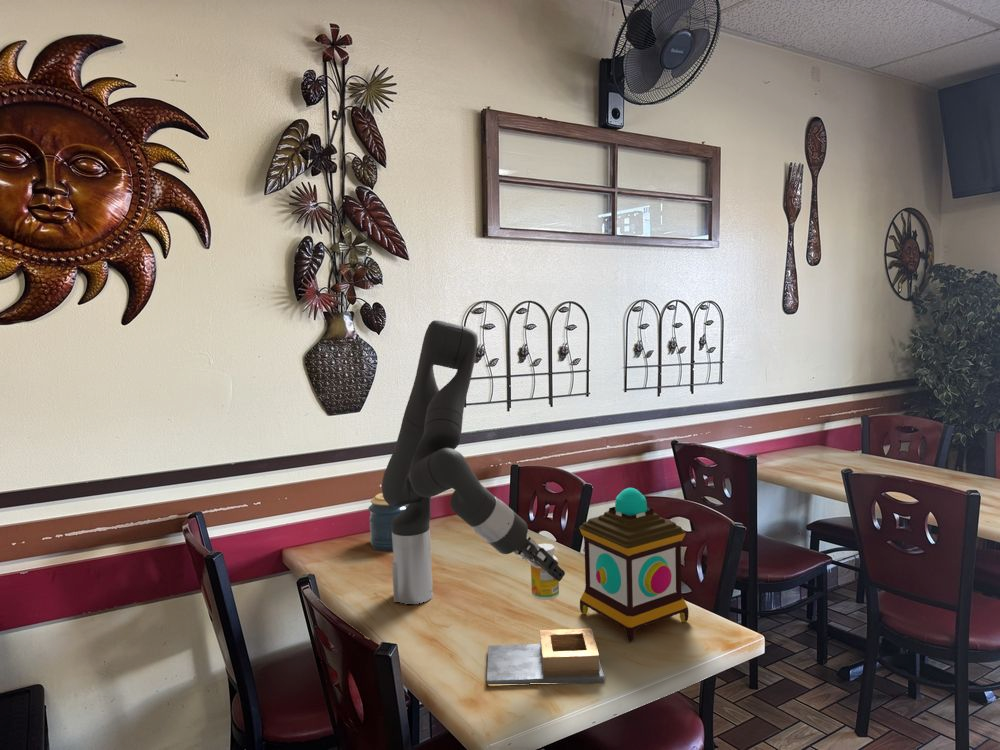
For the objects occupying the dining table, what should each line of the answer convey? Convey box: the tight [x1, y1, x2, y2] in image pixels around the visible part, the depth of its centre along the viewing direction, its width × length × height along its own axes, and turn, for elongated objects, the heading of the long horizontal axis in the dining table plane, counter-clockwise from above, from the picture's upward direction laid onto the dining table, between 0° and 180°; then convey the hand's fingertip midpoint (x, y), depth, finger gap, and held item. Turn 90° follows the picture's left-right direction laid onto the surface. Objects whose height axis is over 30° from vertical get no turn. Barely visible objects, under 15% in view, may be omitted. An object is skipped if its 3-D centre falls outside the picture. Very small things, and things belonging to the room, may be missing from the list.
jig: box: [486, 628, 605, 685], centre depth 131 cm, size 22×13×5 cm, turn 90°
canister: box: [368, 492, 409, 552], centre depth 203 cm, size 13×13×18 cm
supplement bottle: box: [530, 543, 560, 601], centre depth 130 cm, size 5×5×10 cm
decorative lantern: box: [578, 487, 689, 643], centre depth 148 cm, size 20×20×30 cm
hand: (552, 571), depth 131 cm, fingers closed on supplement bottle, 5 cm apart
